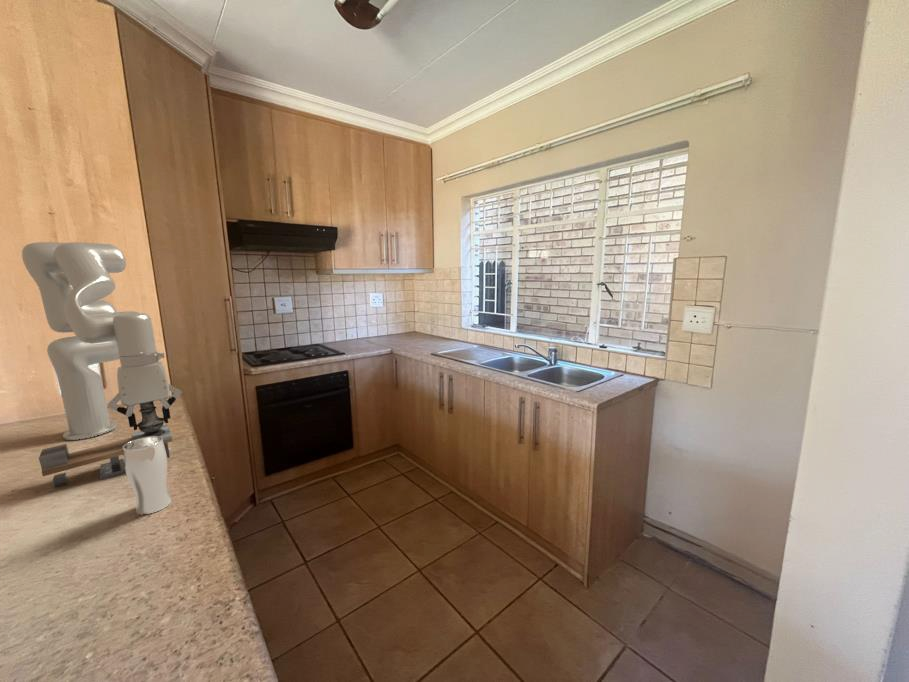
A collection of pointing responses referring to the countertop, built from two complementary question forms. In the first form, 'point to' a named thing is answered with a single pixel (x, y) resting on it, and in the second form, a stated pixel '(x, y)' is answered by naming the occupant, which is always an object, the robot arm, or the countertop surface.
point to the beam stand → (102, 470)
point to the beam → (86, 454)
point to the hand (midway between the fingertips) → (151, 424)
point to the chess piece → (150, 421)
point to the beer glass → (147, 473)
